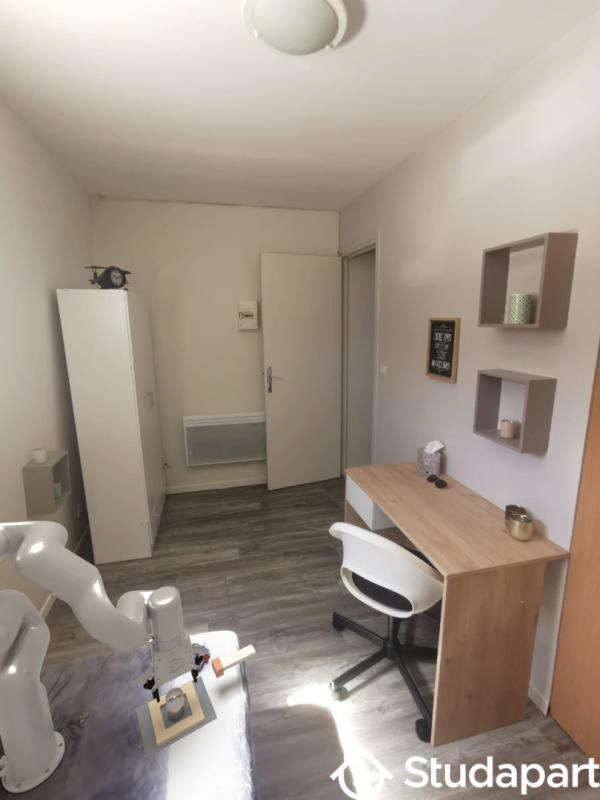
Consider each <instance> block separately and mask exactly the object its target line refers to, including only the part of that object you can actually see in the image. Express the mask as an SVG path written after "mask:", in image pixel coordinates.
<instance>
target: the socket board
mask: <svg viewBox="0 0 600 800" xmlns="http://www.w3.org/2000/svg"><path fill="white" fill-rule="evenodd" d="M177 688H181V689H182V691H183V698H184V709H185V712H184V715H183V717H182V718H181V719H180V720H178V721H175V722H172V721H170V720H169V719H168V716H167V707H166V694H167V693H168V692H167V693H164V694H163V695H159V697H160V702H159V703H157V700H156V698H155V699H152V700H150V701H148V702H146V703H144V704H142V705H139V706H138V707H135V710H136V716H137V723H138V726H139V731H140V736H141V737H140V738H141V742H142V746H143V750H144V751H143V753H144V757H145V759H148V758H149V757H151V756H153V755H154V754H156V753H158V752H160V751H162V750H163V749H165V748H167V747H168V746H171V745H172V744H174V743H175V742H178V741H179V740H181V739H183V738H185V737H187V736H188V735H190V734H192V733H194V732H196V731H198V729H200V728H203V727H204V726H206V725H208V724H210V723H211V722H213V721H214V720H216V719H218V716H217V714H216V712H215V708H214V706H213V703H212V701H211V698H210V695H209V693H208V691H207V688H206V685H205V683H204V680H203V678H202V676H200V675H199V676H197V683H194V680H193V679H192V680H190V681H188V682H186V683H184V684H182V685H180V686H178V687H177Z"/></svg>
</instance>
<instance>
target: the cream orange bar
mask: <svg viewBox="0 0 600 800" xmlns="http://www.w3.org/2000/svg"><path fill="white" fill-rule="evenodd" d="M256 655H257V652H256V649H255V648H254V646H253V645H252V644H249V645H246V646H245V647H243V648H241V649H239V650H238V649H237V650H236V651H234V652H232V653H230V654H229V655H226V656H225V657H222V658H219V656H216V657H215V658H213V659H211V668H212V670H213V673H214V674H215V677H216V679H218V678H221V677H223V676H224V675H225V674H224V672H225V671H227V670H229V669H231V668H234V667H236V666H237V665H239V664H241V663H243V662H245V661H246V660H249V659H251V658H252V657H255V656H256Z"/></svg>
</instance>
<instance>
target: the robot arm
mask: <svg viewBox="0 0 600 800" xmlns="http://www.w3.org/2000/svg"><path fill="white" fill-rule="evenodd" d="M68 539H69V533H68V530H67V528H65V526H64V525H62V524H60V523H59V522H55V521H49V520H24V521H23V520H22V521H7V522H6V521H4V522H0V563H1V562H2V561H3V559H4V558H5V557H14V558H13V563H12V566H13V569H14V572H15V573H16V574H17V575H18V576H20V577H21V578H22V579H25V581H28V582H29V583H31V584H33V585H35V586H36V587H38V588H40V589H41V590H43V591H45V592H48V593H49V594H50V595H52V596H55V597H56V598H57V599H60V600H61V601H63V602H65V604H68V605H69V607H70V608H71V610H72V612H73V614H74V616H75V617H76V619H78V621H79V622H80V624H81V625H82V626H83V628H84V630H86V632H87V633H88V634H89V635H90V636H91V637H92V638H93V639H95V640H96V641H98V642H99V643H102V644H103V645H105V646H107V647H109V648H112V649H113V650H116V651H120V652H131V651H134V650H136V649H138V648H139V647H140V646H141V645H143V643H144V642H145V640H146V638H147V635H148V630H149V629H148V628H149V622H150V627H151V635H152V636H150V638H149V639H147V640H146V643H147V644H146V645H147V647H148V646H151V647H150V666H148V667H147V668H146V669H145V670H144V671H143V672H142V673H141V674H140V675H139V676H138V677H137V684H138V685H140V687H142V688H143V689H144V690H149V691H151V694H152V700H154V699H156V700H157V703H159V702H160V691H159V688H158V687H159V686H163V685H165V684H168V683H170V682H171V681H174V680H176V679H177V678H179V677H181V676H183V675H185V674H187V673H188V672H190V674H191V677H192V680H194V683H197V678H198V677H200V675H199V670H200V669H199V665H200V663H201V662H202V660H203V659H204V655H205V652H206V648H207V647H206V645H204V646H203V645H201V646H197V645H195V646H192V644H193V643H192V640H191V638H190V635H189V633H188V631H187V629H186V628H185V625H184V617H183V616H184V615H183V609H182V602H181V599H182V598H181V594H180V591H179V590H178V589H177V588H176V587H174V586H170V585H166V586H162V587H159V588H157V589H149V590H147V589H146V590H145V589H141V590H138V589H137V590H131V591H127V592H125V593H123V594H122V595H121V596H120V597H119V598H118V600H117V602H116V607H115V606H114V605H113V604H112V601H111V599H109V597H108V594H107V591H106V589H105V585H104V582H103V578H102V575H101V573H100V571H99V569H98V568H97V567H96V566H95V565H93V564H92V563H90V562H89V561H87V560H85V559H84V558H83V557H80V556H79V555H77V554H76V553H74V552H73V551H71V550H69V549H68V548H66V545H67V542H68ZM50 640H51V632H50V629H49V627H48V625H47V623H46V622H45V620H44V618H43V617H42V615H41V614H40V612H39V611H38V609H37V608H36V606H35V604H34V603H33V602H32V600H31V599H30V598H29V597H28V596H27V595H26V594H24V593H23V592H21V591H19V590H15V589H3V590H0V739H1V743H2V747H3V751H4V755H2V756H1V758H0V769H1V770H0V778H1V782H2V786H3V787H4V789H5V790H6V791H8V792H10V793H13V794H16V793H17V794H20V793H23V792H24V793H25V792H27V791H30V790H32V789H34V788H37V786H39V785H40V784H42V783H43V782H44V781H46V779H48V778H49V777H50V776H51V775H52V774H53V773H54V771H55V770H56V769H57V768H58V767H59V765H60V763H61V761H62V760H63V756H64V755H65V749H66V747H65V746H66V744H65V740H64V737H63V735H62V734H61V733H60V732H58V731H55V729H54V723H53V719H52V713H51V709H50V708H51V707H50V704H49V698H48V694H47V690H46V687H45V685H44V683H42V681H41V679H40V678H41V676H40V675H41V670H42V666H43V663H44V661H45V660H44V659H45V657H46V654H47V651H48V648H49V644H50ZM196 653H198V655H197V656H196V657H195V658H194V654H196ZM151 675H152V676H151ZM150 676H151V677H150ZM149 677H150V679H148V678H149Z"/></svg>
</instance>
